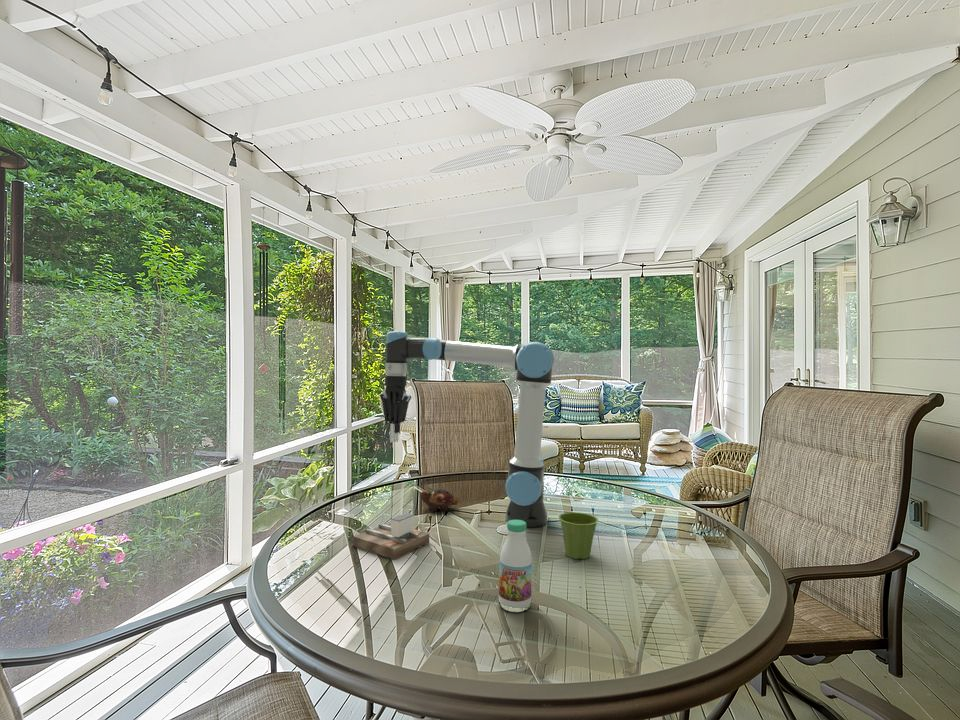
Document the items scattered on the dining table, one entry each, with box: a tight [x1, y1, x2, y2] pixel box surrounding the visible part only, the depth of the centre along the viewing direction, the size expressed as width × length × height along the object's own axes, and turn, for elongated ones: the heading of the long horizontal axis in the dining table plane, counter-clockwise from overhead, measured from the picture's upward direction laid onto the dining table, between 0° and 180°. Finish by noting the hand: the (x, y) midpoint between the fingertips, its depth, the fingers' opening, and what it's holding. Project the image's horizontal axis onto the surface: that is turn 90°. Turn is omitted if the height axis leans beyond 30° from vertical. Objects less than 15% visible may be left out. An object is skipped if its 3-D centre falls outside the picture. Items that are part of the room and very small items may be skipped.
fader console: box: [352, 521, 430, 560], centre depth 153 cm, size 17×16×4 cm
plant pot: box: [558, 511, 599, 560], centre depth 149 cm, size 12×12×11 cm
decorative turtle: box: [420, 488, 460, 513], centre depth 190 cm, size 10×15×8 cm, turn 115°
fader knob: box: [390, 512, 415, 539], centre depth 151 cm, size 3×7×6 cm, turn 147°
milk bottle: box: [498, 520, 533, 608], centre depth 117 cm, size 8×8×20 cm
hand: (394, 441), depth 174 cm, fingers closed
